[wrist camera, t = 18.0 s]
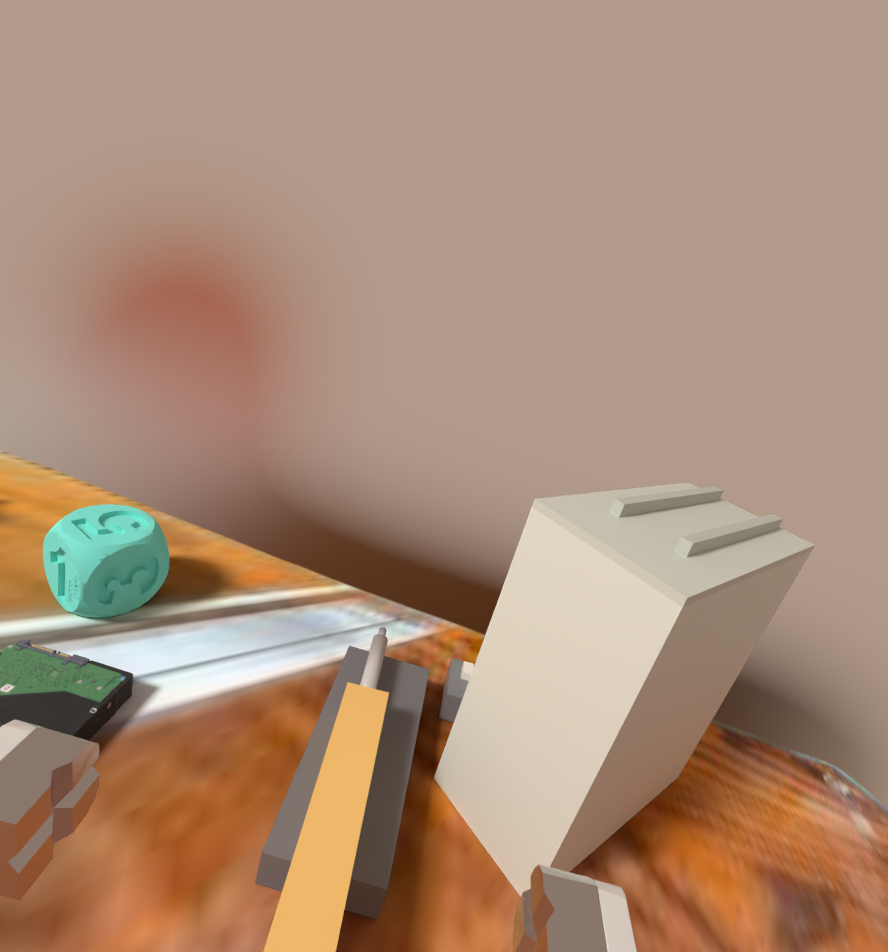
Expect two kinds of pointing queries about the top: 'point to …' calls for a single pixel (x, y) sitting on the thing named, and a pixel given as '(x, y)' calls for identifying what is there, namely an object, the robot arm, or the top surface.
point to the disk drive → (59, 690)
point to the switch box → (454, 688)
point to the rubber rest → (384, 789)
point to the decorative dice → (105, 560)
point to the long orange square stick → (333, 821)
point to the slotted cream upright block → (607, 664)
